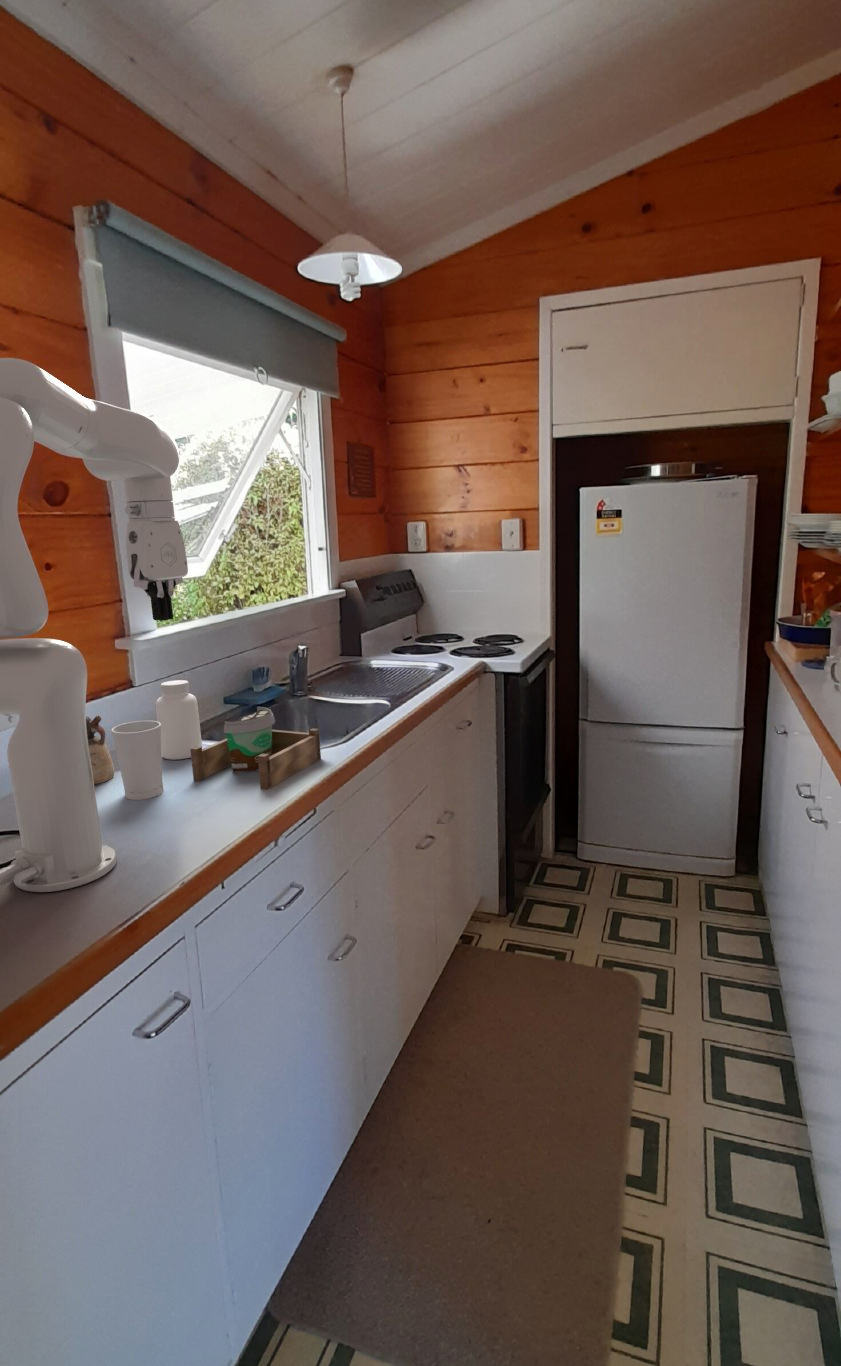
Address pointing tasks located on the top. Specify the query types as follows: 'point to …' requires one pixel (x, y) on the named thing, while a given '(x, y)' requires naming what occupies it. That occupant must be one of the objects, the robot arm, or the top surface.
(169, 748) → the pill bottle
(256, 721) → the food container
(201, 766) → the crate
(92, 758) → the figurine
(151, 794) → the cup
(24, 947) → the top surface
